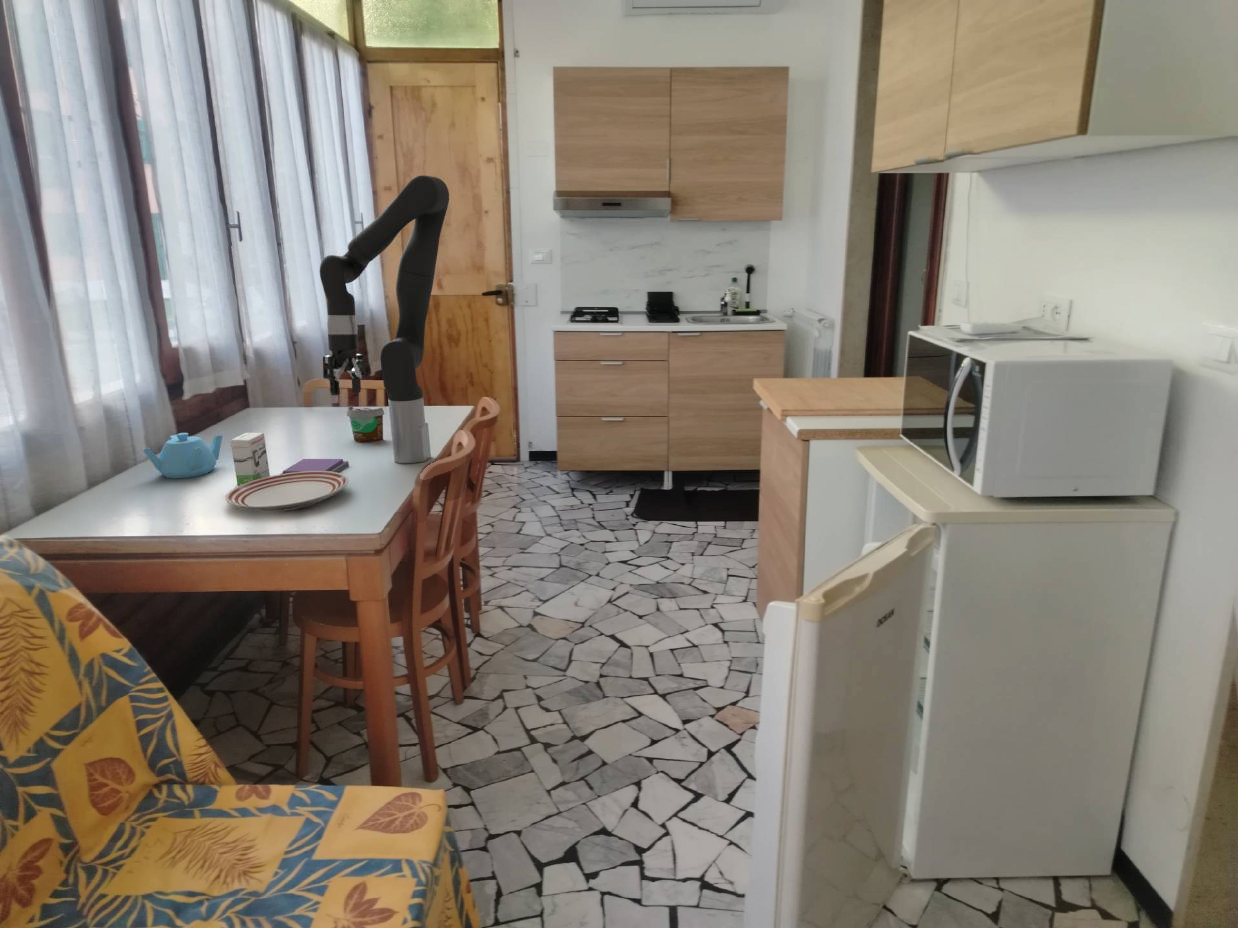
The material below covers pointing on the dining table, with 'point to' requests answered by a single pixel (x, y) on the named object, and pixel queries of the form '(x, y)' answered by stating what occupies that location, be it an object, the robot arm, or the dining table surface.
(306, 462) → the ink pad
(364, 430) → the food container
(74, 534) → the dining table surface
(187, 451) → the teapot
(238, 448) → the ink box
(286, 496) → the dinner plate
